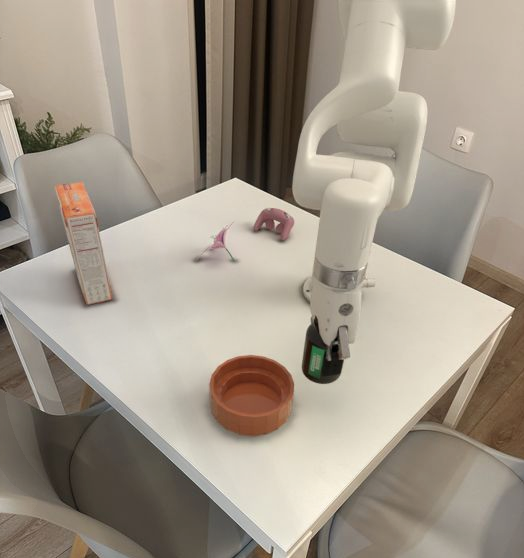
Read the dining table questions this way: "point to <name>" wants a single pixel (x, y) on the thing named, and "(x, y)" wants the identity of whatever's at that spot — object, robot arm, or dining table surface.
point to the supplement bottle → (316, 355)
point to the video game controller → (279, 215)
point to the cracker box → (84, 241)
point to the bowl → (251, 395)
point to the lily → (219, 241)
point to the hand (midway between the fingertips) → (323, 357)
